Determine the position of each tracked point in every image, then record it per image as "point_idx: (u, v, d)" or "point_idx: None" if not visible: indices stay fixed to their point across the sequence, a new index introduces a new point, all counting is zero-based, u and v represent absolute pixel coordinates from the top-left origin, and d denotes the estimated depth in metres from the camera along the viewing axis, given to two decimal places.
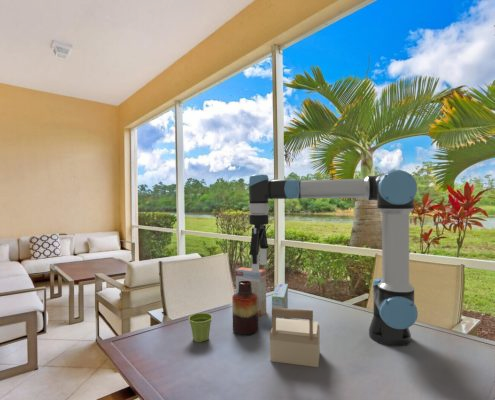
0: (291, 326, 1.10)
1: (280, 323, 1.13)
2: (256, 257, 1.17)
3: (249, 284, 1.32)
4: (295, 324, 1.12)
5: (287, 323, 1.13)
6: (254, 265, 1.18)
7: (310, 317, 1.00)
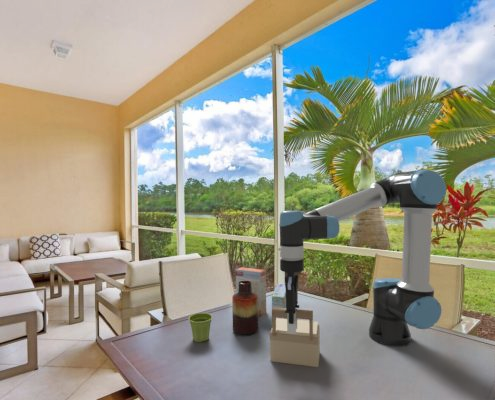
0: None
1: (280, 323, 1.13)
2: (293, 316, 1.01)
3: (249, 284, 1.32)
4: None
5: None
6: (290, 325, 1.01)
7: (310, 317, 1.00)
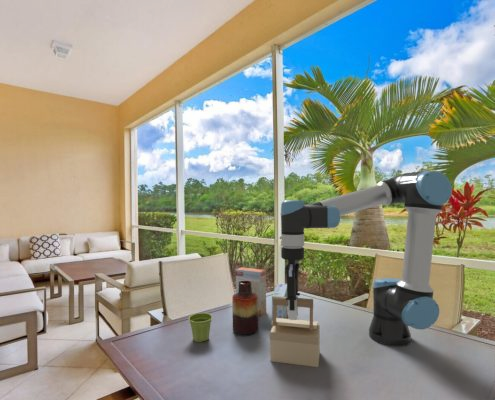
0: (291, 321, 1.10)
1: (280, 319, 1.13)
2: (294, 303, 1.03)
3: (249, 284, 1.32)
4: (295, 321, 1.12)
5: (287, 320, 1.13)
6: (291, 311, 1.04)
7: (310, 304, 1.03)
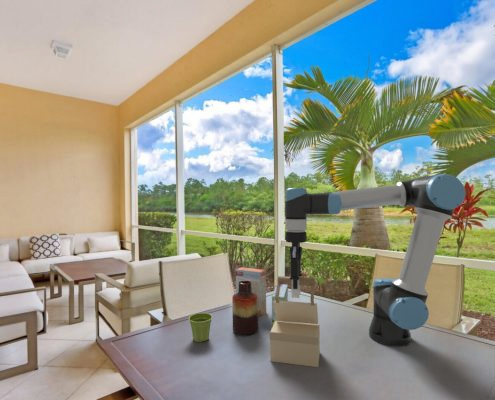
0: None
1: None
2: (297, 282, 1.12)
3: (249, 284, 1.32)
4: None
5: None
6: (294, 290, 1.13)
7: (312, 280, 1.12)
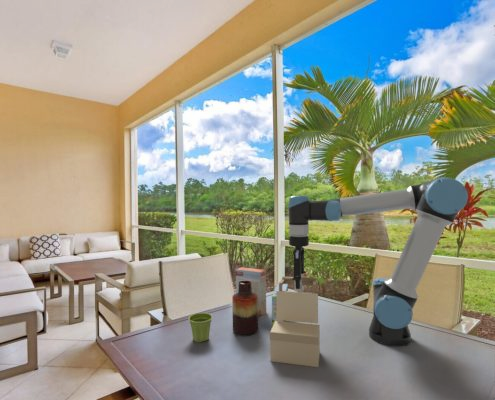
0: None
1: None
2: (299, 282, 1.19)
3: (249, 284, 1.32)
4: None
5: None
6: (297, 290, 1.19)
7: (314, 278, 1.22)
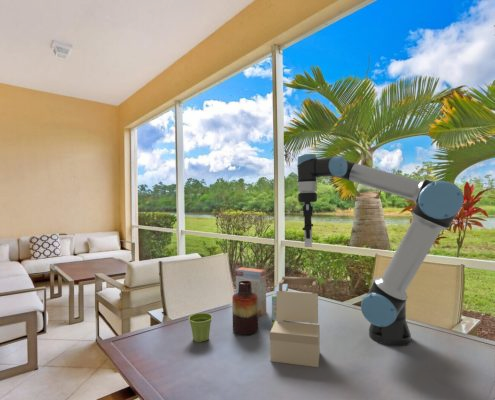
0: None
1: None
2: (309, 232, 1.22)
3: (249, 284, 1.32)
4: None
5: None
6: (307, 240, 1.23)
7: (314, 278, 1.22)
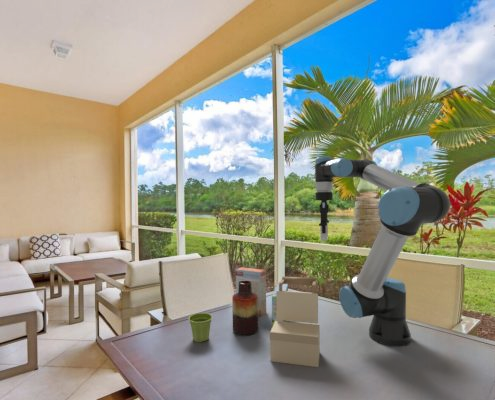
0: None
1: None
2: (325, 227, 1.35)
3: (249, 284, 1.32)
4: None
5: None
6: (323, 235, 1.36)
7: (314, 278, 1.22)
